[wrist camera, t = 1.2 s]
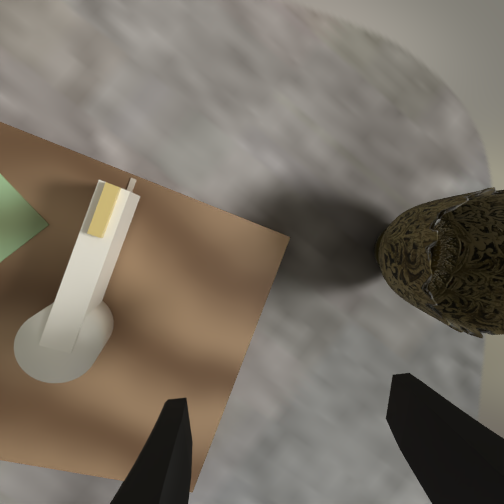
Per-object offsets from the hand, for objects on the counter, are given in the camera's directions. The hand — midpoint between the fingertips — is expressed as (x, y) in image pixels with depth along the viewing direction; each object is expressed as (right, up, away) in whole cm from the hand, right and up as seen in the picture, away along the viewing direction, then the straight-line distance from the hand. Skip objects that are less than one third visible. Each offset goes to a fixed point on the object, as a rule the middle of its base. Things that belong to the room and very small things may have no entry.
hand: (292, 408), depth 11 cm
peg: (-10, +4, +7) cm, 13 cm away
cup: (+9, +6, +12) cm, 16 cm away
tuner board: (-11, +1, +8) cm, 14 cm away
